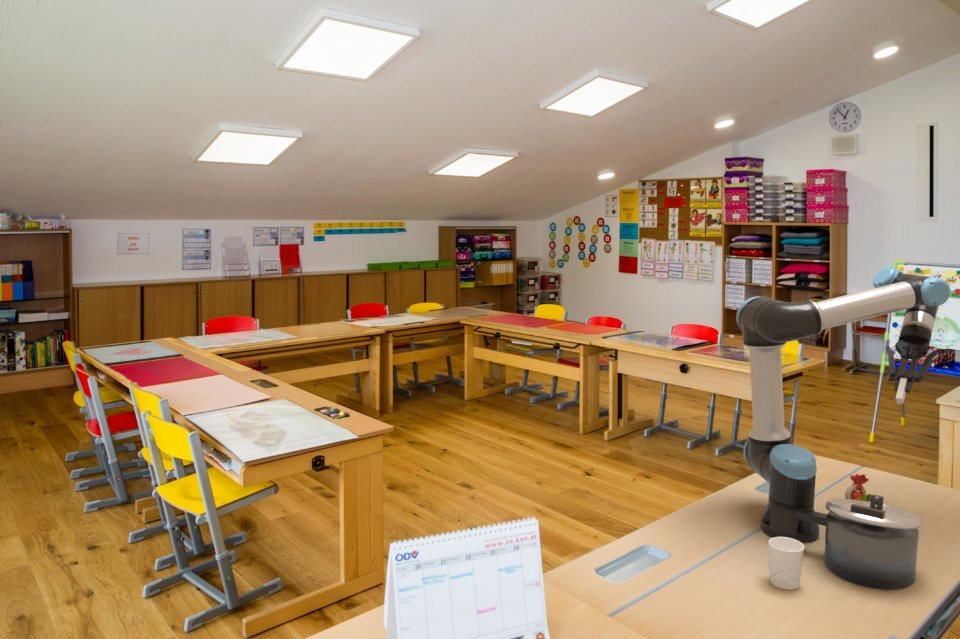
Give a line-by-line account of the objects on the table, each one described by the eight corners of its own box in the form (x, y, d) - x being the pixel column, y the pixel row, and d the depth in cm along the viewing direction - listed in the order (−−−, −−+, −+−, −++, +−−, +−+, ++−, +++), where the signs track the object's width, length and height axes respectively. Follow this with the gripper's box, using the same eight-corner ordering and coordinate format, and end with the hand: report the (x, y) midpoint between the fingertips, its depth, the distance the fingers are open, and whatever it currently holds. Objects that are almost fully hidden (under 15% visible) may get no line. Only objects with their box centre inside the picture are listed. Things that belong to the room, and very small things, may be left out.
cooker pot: (782, 562, 181) (785, 518, 180) (806, 535, 197) (808, 494, 195) (906, 598, 164) (910, 549, 162) (921, 565, 179) (925, 520, 177)
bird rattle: (862, 520, 211) (881, 503, 214) (853, 489, 207) (873, 473, 210) (843, 512, 216) (863, 496, 219) (834, 482, 213) (854, 466, 216)
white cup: (786, 594, 166) (788, 554, 165) (759, 579, 173) (761, 541, 172) (809, 586, 170) (811, 546, 169) (781, 572, 177) (783, 534, 176)
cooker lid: (816, 512, 175) (817, 494, 175) (838, 499, 191) (839, 483, 191) (912, 535, 161) (914, 516, 161) (927, 519, 178) (929, 502, 178)
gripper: (944, 341, 199) (929, 412, 190) (892, 336, 208) (874, 404, 198) (942, 325, 195) (926, 397, 185) (888, 321, 203) (870, 390, 194)
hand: (899, 400), depth 192 cm, fingers closed
